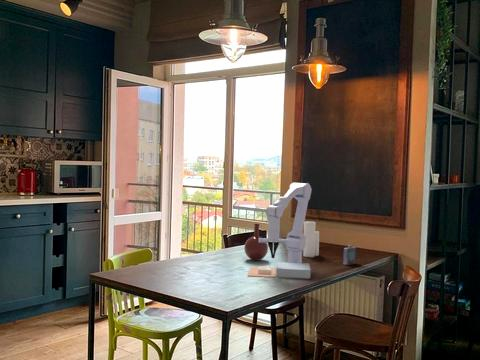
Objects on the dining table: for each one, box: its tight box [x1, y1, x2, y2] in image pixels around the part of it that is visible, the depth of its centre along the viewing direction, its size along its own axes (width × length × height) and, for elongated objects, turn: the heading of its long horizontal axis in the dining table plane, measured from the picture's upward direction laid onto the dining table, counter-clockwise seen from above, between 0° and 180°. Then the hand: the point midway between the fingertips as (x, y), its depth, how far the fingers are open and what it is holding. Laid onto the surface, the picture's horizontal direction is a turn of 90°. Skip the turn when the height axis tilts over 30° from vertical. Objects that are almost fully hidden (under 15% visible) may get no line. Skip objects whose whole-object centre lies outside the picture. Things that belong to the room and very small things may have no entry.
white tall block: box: [302, 221, 320, 258], centre depth 284 cm, size 11×7×20 cm, turn 146°
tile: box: [257, 265, 272, 274], centre depth 235 cm, size 8×6×2 cm
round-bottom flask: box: [243, 223, 269, 261], centre depth 266 cm, size 13×13×20 cm
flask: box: [342, 243, 357, 266], centre depth 262 cm, size 9×3×11 cm, turn 129°
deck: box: [275, 261, 311, 279], centre depth 234 cm, size 15×16×4 cm
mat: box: [247, 266, 277, 279], centre depth 236 cm, size 18×13×1 cm
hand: (273, 257), depth 235 cm, fingers closed
